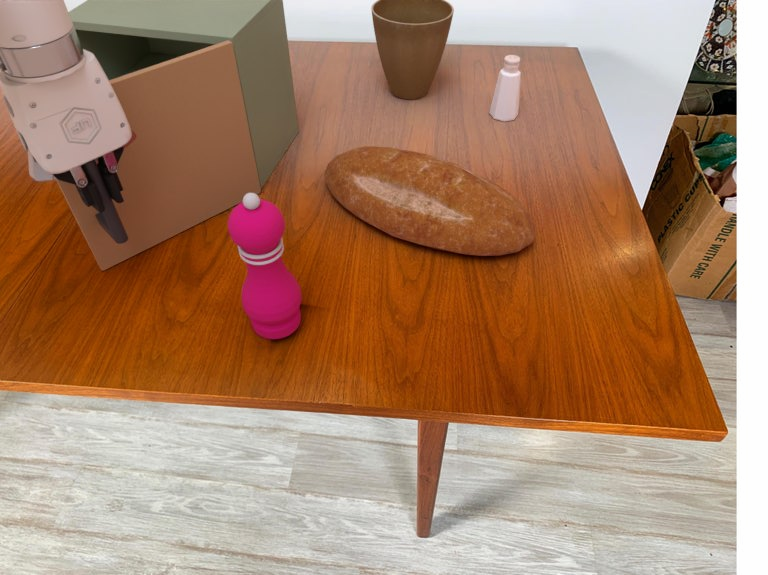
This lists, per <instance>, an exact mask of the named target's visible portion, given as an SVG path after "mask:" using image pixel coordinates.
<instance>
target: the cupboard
mask: <svg viewBox="0 0 768 575" xmlns="http://www.w3.org/2000/svg"><path fill="white" fill-rule="evenodd" d="M68 13H69V15H70V18H71V21H72V23H73V25H74V28H75V31H76V33H77V36H78V38H79V41H80V44H81V46H82V49H85V50H87V51H89V52H91V53H93V54H94V56H95V57H96V59H97V60H98V62H99V63H100V65H101V67H102V69H103V70H104V72H105V74H106V76H107V78H108V80H112V79H115V78H118V77H121V76H124V75H127V74H130V73H133V72H136V71H138V70H141V69H144V68H147V67H150V66H153V65H156V64H159V63H162V62H165V61H168V60H171V59H174V58H177V57H180V56H183V55H186V54H189V53H192V52H195V51H198V50H201V49H204V48H207V47H209V46H212V45H215V44H218V43H221V42H224V41H227V40H229V41H230V42H232V44H233V49H234V55H235V60H236V65H237V70H238V75H239V80H240V86H241V91H242V96H243V101H244V106H245V111H246V116H247V122H248V127H249V132H250V137H251V142H252V147H253V152H254V158H255V163H256V168H257V173H258V178H259V183H260V188H261V190H263V188H264V186H265V185H266V183H267V182H268V180H269V178H270V177H271V175H272V174H273V172H274V171H275V169H276V168H277V166H278V164H279V163H280V161H281V160H282V158H283V157H284V156H285V154H286V152H287V151H288V149H289V147H290V146H291V145H292V143H293V142H294V140H295V139H296V137H297V135H298V134H299V132H300V127H299V120H298V119H299V118H298V111H297V104H296V103H297V102H296V96H295V95H296V94H295V88H294V80H293V72H292V63H291V54H290V47H289V40H288V39H289V38H288V33H287V23H286V16H285V8H284V0H85V1H84V2H82V3H80V4H79V5H78V6H75V7H74V8H73V9H70V10H69V11H68Z"/></svg>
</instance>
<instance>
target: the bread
mask: <svg viewBox="0 0 768 575" xmlns="http://www.w3.org/2000/svg"><path fill="white" fill-rule="evenodd" d="M323 178H324V182H325V185H326V186H327V188H328V189H329V192H330V194H331V196H333V197H334V198H335V199H336V201H337V202H339V204H340V205H341V206H342V207H344V208H345V209H346V210H347V211H348V212H350V213H351V214H352V215H354V216H355V217H357V218H359V219H360V220H362V221H363V222H365V223H367V224H368V225H371V226H372V227H375V228H376V229H378V230H380V231H382V232H384V233H386V234H388V235H389V236H391V237H394V238H396V239H397V238H398V239H400V240H404V241H407V242H410V243H413V244H416V245H420V246H422V247H423V246H424V247H426V248H431V249H434V250H440V251H443V252H444V251H445V252H451V253H456V254H462V255H469V256H477V257H489V256H495V257H497V256H498V257H499V256H503V255H508V254H514V253H515V254H516V253H518V252H520V251H521V250H523V249H525V248H526V247H528V246H530V245H531V244H532V243H533V241H534V239H535V237H536V235H535V231H534V228H533V224H532V220H531V216H530V214H529V212H528V211H527V210H526V208H525V207H524V206H523V204H522V203H521V201H520V200H519V199H518V198H517V197H516V196H515V195H513V194H512V193H511V192H509V191H507V189H505V188H503V187H502V186H500V185H498V184H496V182H495V183H494V182H493V181H491V180H489V179H487V178H485V177H483V176H482V175H479V174H477V173H475V172H473V171H471V170H469V169H467V168H465V167H463V166H461V165H460V164H457V163H454V162H451V161H448V160H445V159H443V158H439V157H436V156H433V155H430V154H427V153H423V152H418V151H412V150H408V149H400V148H394V147H389V146H374V145H373V146H371V145H369V146H366V145H364V146H359V147H357V148H353V149H349V150H347V151H345V152H343V153H340V154H337V155H336V156H335V157H334V158H333V159H332V160H330V161H329V163H327V165H326V168H325V170H324V173H323Z"/></svg>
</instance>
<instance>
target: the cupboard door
mask: <svg viewBox="0 0 768 575" xmlns="http://www.w3.org/2000/svg"><path fill="white" fill-rule="evenodd" d="M109 82H110V84H111V86H112V87H113V90H114V92H115V94H116V96H117V98H118V100H119V102H120V104H121V106H122V109H123V111H124V113H125V115H126V118H127V120H128V123H129V125H130V128H131V129H132V130H133V131H134V132H135V134H136V138H135V140H134V141H133V142H132V143H131V144H129V145H128V146H127V147H126V148H124V151H123V153H122V155H121V158H120V160H119V162H118V167H119V169H118V171H117V175H118V177H119V180H120V182H121V185H122V187H123V191H121V195H122V197H123V200H124V202H122V203H117V202H115V201H114V200H113V199H112V198H111V196H110V194H109V191H108V189H107V187H106V184H105V182H104V180H103V177H102V175H101V173H100V170H99V168H98V166H97V164H98V162H97V160H96V159H94V160H92V161H90V162H87V163H85V164H83V165H81V168H82V170H83V172H84V174H85V176H86V177H88V179H89V180H90V181H91V182H93V183H94V185H95V186H96V189H97V191H98V193H99V195H100V198H101V200H102V202H103V204H104V207H105V211H104V212H102V213H99V212H98V211H97V210H96V209H95V208H94V207H93V206H90V207H87V206H86V205H85V204H84V202H83V201H82V199H81V197H80V195H79V193H78V190H77V188H76V186H75V184H71V183H68V182H64V181H61V180H58V179H56V180H55V181H56V183H57V185H58V187H59V189H60V191H61V193H62V195H63V197H64V199H65V200H66V204H67V205H68V207H69V209H70V212H71V213H72V215H73V217H74V220H75V221H76V223H77V225H78V227H79V229H80V231H81V233H82V235H83V238H84V240H85V241H86V243H87V245H88V247H89V249H90V251H91V253H92V255H93V258H94V259H95V261H96V264H97V266H98V267H99V269H100V270H101V271H102V272H103V271H106V270H108V269H110V268H112V267H114V266H116V265H118V264H120V263H123V262H124V261H126V260H128V259H130V258H132V257H134V256H136V255H138V254H140V253H142V252H144V251H146V250H148V249H150V248H152V247H155V246H156V245H159V244H161V243H163V242H164V241H167V240H168V239H170V238H172V237H174V236H176V235H178V234H181V233H182V232H185V231H187V230H189V229H190V228H193V227H194V226H195V227H196V226H197V225H199V224H201V223H204V222H205V221H207V220H208V219H211V218H213V217H214V216H217V215H219V214H220V213H223V212H225V211H227V210H229V209H231V208H233V207H236V206H237V205H238V204H240V203H242V202H243V198H244V196H245V195H246V194H247V193H255V194H257V195H259V194H261V193H262V189H261V188H260V183H259V178H258V173H257V168H256V163H255V158H254V152H253V147H252V142H251V137H250V132H249V127H248V122H247V116H246V111H245V106H244V101H243V96H242V91H241V86H240V80H239V75H238V70H237V65H236V60H235V55H234V49H233V44H232V42H230V41H229V40H227V41H224V42H221V43H218V44H215V45H212V46H209V47H207V48H204V49H201V50H198V51H195V52H192V53H189V54H186V55H183V56H180V57H177V58H174V59H171V60H168V61H165V62H162V63H159V64H156V65H153V66H150V67H147V68H144V69H141V70H138V71H136V72H133V73H130V74H127V75H124V76H121V77H118V78H115V79H112V80H109Z"/></svg>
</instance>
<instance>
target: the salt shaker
mask: <svg viewBox="0 0 768 575" xmlns="http://www.w3.org/2000/svg"><path fill="white" fill-rule="evenodd" d="M520 62H521V57H520V56H518V55H516V54H508V55H505V56H504V58H503V67H502V68H501V69H500V71H499V73H498V77H497V81H496V84H495V88H494V92H493V96H492V99H491V100H492V101H491V104H490V108H489V112H488V114H489V115H490V116H491V118H492V119H493V120H495V121H500V122H511V121H512V122H513V121H515V119H516V118H517V117H518V116H519V110H520V109H519V107H520V91H521V78H522V77H521V76H522V74H521V73H522V71H520V70H519V68H520Z"/></svg>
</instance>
